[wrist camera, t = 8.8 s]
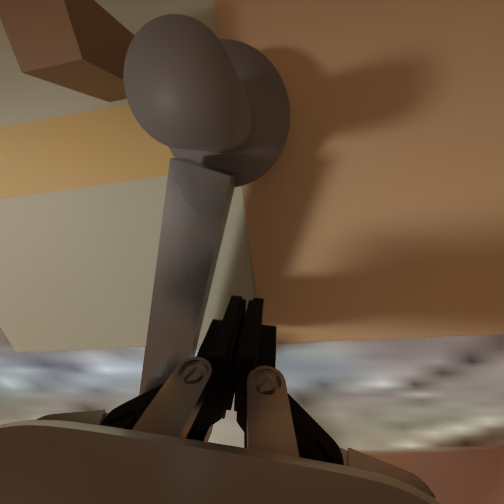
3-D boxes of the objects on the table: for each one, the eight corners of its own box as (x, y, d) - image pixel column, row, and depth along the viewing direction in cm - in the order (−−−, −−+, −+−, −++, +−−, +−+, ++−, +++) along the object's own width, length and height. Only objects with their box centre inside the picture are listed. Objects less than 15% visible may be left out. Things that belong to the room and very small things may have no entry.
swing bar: (186, 158, 9) (135, 158, 6) (238, 173, 9) (217, 182, 6) (150, 391, 14) (111, 463, 11) (184, 400, 14) (155, 475, 11)
